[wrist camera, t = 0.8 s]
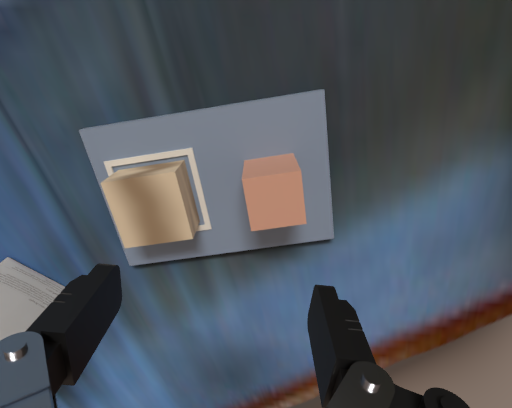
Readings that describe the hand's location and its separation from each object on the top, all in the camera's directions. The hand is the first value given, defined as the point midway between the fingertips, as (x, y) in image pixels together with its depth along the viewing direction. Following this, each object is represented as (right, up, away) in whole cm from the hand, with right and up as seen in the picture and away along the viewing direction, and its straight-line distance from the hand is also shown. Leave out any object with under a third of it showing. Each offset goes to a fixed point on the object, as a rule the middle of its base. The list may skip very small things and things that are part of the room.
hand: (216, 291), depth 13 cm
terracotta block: (+3, +6, +20) cm, 21 cm away
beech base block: (-9, +4, +20) cm, 23 cm away
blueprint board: (-3, +6, +21) cm, 22 cm away
